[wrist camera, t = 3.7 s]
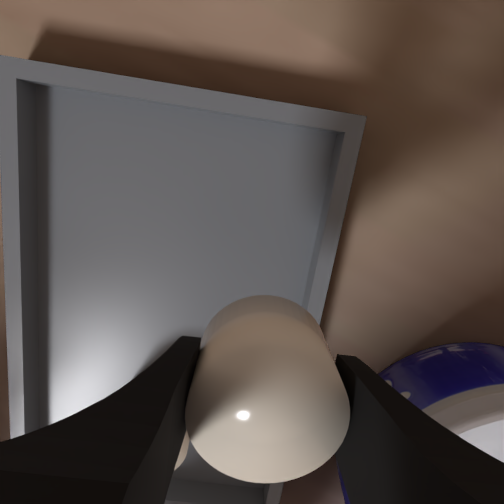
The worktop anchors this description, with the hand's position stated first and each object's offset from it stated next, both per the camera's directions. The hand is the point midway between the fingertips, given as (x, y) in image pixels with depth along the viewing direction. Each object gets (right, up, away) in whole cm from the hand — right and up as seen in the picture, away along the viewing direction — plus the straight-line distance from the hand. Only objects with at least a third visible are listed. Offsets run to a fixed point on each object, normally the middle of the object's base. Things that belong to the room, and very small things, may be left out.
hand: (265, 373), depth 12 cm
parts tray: (-5, 0, +9) cm, 10 cm away
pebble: (0, 0, +1) cm, 1 cm away
